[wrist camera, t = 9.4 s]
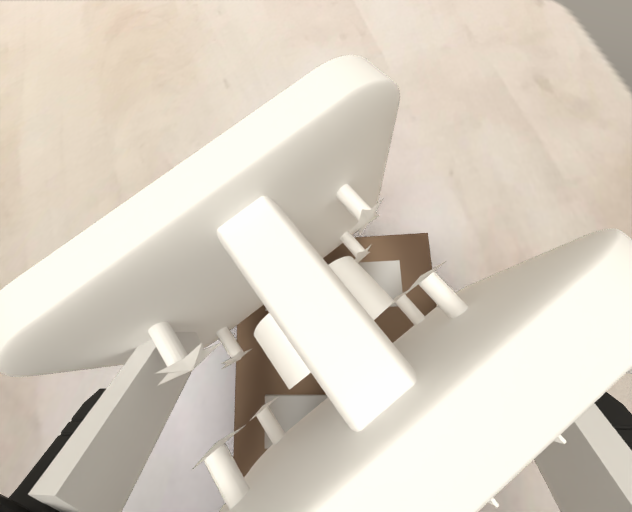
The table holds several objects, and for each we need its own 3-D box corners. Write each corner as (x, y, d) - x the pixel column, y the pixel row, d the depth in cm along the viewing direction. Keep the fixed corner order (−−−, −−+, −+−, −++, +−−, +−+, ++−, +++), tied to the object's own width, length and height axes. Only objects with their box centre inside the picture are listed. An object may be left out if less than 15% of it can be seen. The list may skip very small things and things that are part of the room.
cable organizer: (368, 196, 19) (394, 3, 8) (488, 320, 16) (799, 282, 5) (188, 334, 18) (-75, 330, 7) (282, 497, 15) (81, 979, 4)
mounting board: (240, 468, 22) (231, 481, 20) (245, 248, 26) (238, 244, 24) (450, 474, 20) (460, 489, 18) (422, 237, 24) (428, 231, 22)
